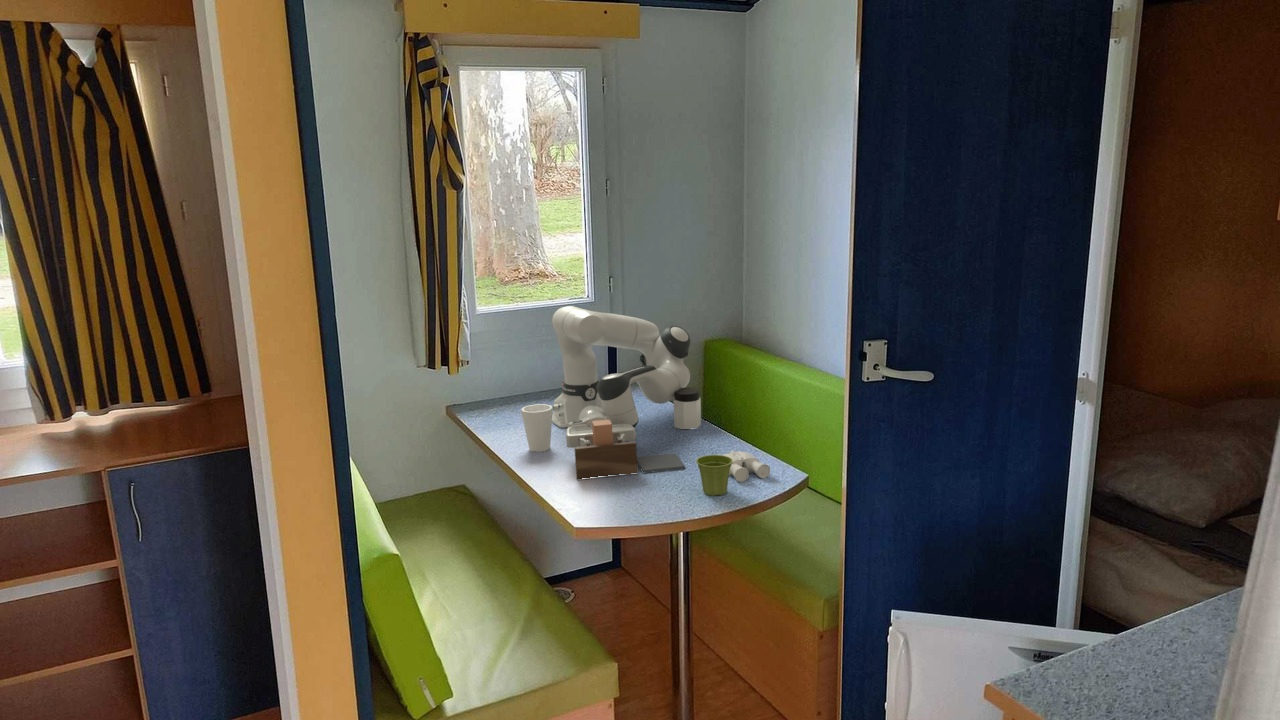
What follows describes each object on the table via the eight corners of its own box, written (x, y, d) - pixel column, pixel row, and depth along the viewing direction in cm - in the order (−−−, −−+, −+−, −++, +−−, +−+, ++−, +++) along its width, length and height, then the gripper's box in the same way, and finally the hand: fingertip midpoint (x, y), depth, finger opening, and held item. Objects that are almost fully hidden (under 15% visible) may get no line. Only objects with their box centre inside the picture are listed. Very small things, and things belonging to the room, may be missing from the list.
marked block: (594, 468, 256) (591, 421, 253) (611, 466, 257) (609, 419, 254) (597, 474, 251) (594, 426, 248) (614, 472, 252) (612, 424, 249)
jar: (706, 426, 291) (705, 390, 289) (688, 432, 286) (687, 396, 283) (687, 420, 298) (686, 385, 295) (669, 426, 293) (668, 390, 290)
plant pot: (708, 483, 240) (707, 452, 238) (739, 489, 234) (739, 457, 233) (690, 494, 232) (689, 462, 230) (722, 501, 227) (721, 468, 225)
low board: (576, 478, 248) (574, 447, 246) (636, 472, 251) (635, 441, 249) (577, 480, 247) (575, 449, 245) (637, 473, 249) (636, 443, 248)
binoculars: (735, 484, 239) (735, 467, 238) (711, 466, 254) (711, 450, 253) (770, 478, 242) (770, 461, 241) (745, 461, 257) (744, 445, 256)
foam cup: (521, 447, 278) (517, 406, 276) (549, 442, 282) (546, 402, 279) (529, 455, 270) (526, 414, 267) (558, 450, 273) (556, 409, 271)
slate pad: (635, 459, 262) (635, 457, 261) (675, 455, 264) (675, 453, 263) (643, 473, 250) (642, 470, 250) (684, 468, 252) (684, 466, 252)
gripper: (632, 436, 267) (641, 450, 254) (564, 443, 264) (569, 457, 251) (631, 416, 266) (639, 429, 253) (563, 423, 263) (567, 436, 249)
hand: (604, 443), depth 252 cm, fingers open, 8 cm apart
